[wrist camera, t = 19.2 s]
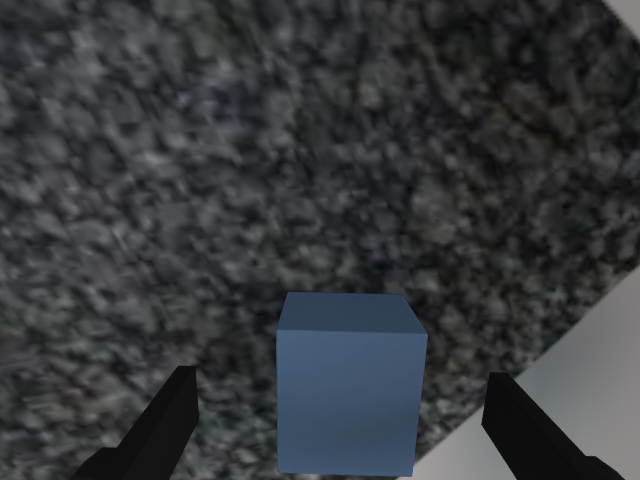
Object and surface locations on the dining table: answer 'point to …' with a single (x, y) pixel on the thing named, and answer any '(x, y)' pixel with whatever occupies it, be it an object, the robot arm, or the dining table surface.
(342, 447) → the blue block
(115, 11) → the dining table surface
